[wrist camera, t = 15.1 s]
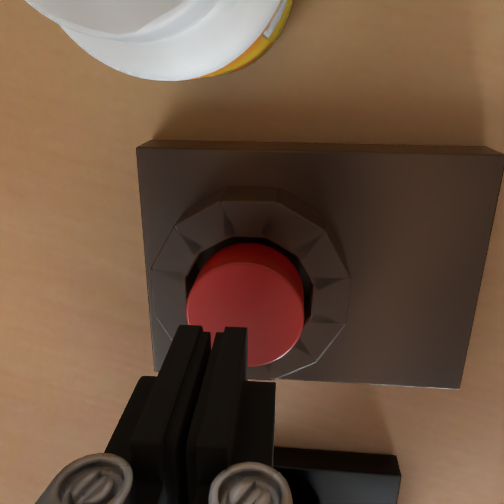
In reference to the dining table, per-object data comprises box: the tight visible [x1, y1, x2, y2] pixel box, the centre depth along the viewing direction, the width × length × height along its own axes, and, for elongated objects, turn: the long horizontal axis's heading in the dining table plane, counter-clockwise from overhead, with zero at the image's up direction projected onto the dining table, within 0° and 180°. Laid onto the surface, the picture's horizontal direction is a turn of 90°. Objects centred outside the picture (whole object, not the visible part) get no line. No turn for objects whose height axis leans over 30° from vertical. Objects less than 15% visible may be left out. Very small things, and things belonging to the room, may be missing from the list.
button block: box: [136, 140, 504, 390], centre depth 17 cm, size 12×9×4 cm
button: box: [186, 243, 304, 367], centre depth 15 cm, size 4×4×2 cm
